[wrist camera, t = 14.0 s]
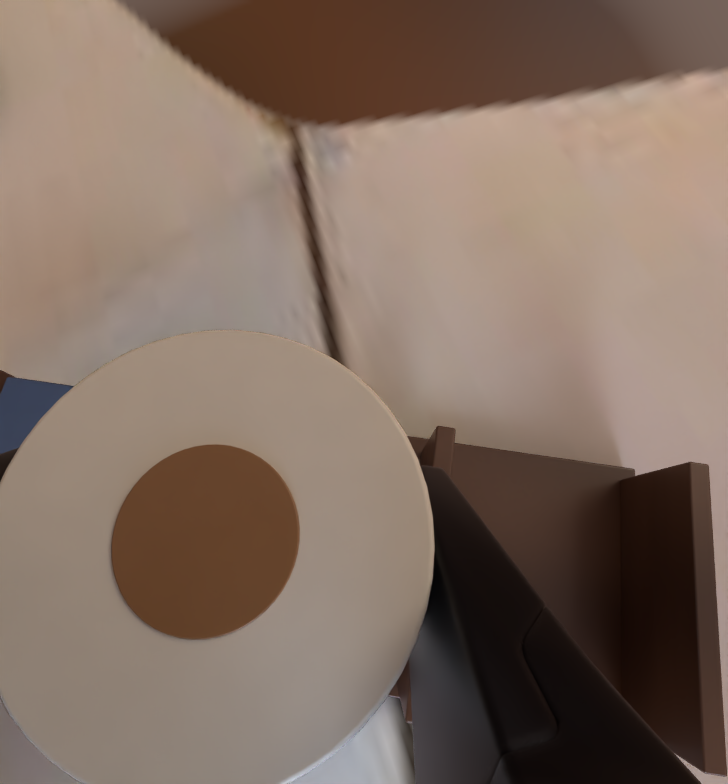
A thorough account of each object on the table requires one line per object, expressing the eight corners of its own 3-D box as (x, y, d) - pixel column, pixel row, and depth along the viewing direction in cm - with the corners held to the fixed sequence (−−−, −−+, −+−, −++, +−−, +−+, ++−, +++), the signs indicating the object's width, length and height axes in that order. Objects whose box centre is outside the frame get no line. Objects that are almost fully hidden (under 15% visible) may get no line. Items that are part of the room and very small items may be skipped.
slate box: (152, 627, 17) (88, 652, 13) (14, 605, 18) (-89, 622, 14) (202, 428, 19) (160, 398, 15) (79, 410, 20) (6, 375, 16)
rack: (627, 730, 17) (730, 802, 12) (-22, 622, 18) (-160, 649, 13) (625, 471, 20) (708, 447, 15) (59, 389, 21) (-32, 342, 16)
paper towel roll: (205, 635, 15) (-96, 801, 5) (228, 453, 16) (32, 318, 7) (388, 643, 15) (436, 828, 5) (393, 460, 16) (435, 333, 7)
